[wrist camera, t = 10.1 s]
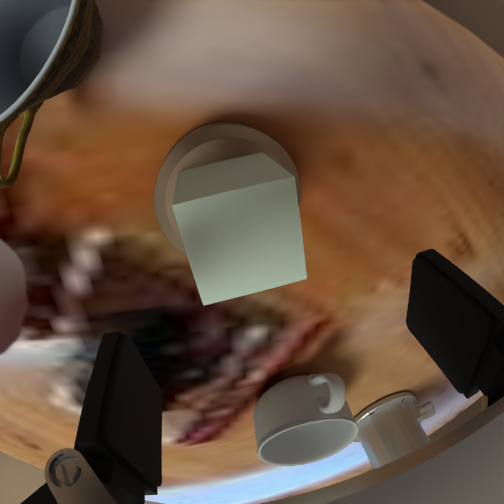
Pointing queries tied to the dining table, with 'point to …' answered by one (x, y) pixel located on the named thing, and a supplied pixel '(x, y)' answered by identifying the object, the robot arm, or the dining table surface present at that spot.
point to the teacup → (303, 420)
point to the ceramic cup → (42, 59)
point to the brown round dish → (207, 152)
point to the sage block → (240, 226)
